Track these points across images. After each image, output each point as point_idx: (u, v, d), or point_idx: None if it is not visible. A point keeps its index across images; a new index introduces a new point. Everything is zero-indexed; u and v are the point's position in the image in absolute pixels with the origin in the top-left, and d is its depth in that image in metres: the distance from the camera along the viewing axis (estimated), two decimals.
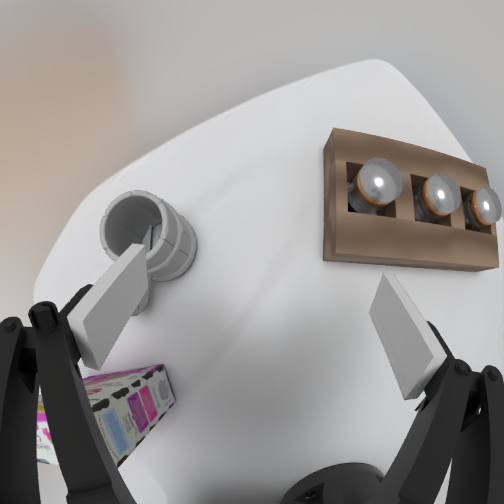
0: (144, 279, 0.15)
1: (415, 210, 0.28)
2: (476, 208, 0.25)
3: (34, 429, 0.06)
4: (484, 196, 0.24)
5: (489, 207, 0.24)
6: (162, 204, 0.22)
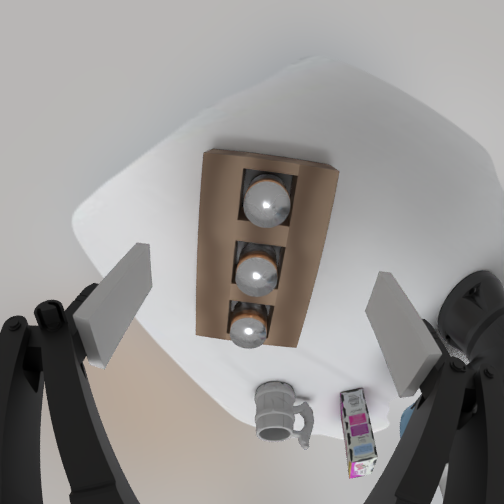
0: (148, 279, 0.15)
1: None
2: None
3: (38, 429, 0.06)
4: (257, 217, 0.27)
5: (272, 212, 0.27)
6: (265, 427, 0.40)
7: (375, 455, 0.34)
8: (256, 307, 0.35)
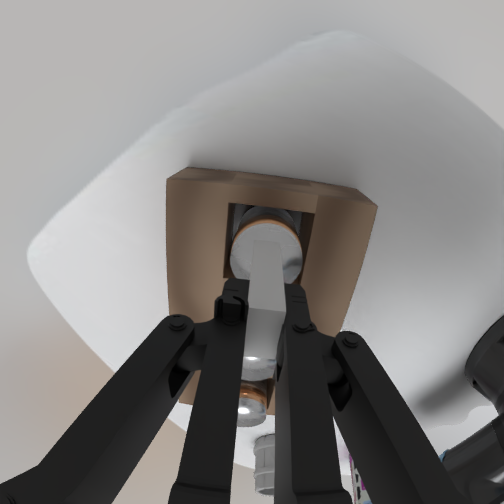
0: None
1: None
2: None
3: (155, 432, 0.08)
4: None
5: None
6: (265, 487, 0.30)
7: None
8: None
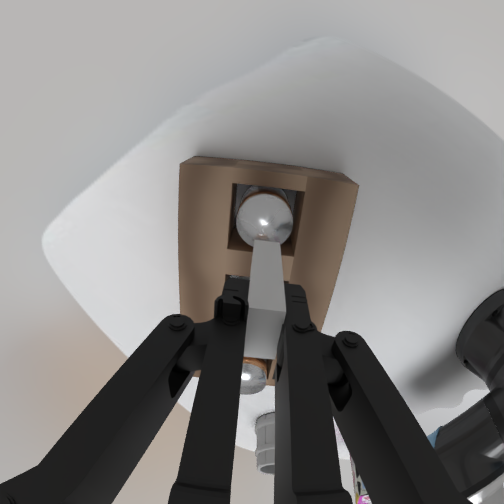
0: None
1: None
2: None
3: (155, 432, 0.08)
4: (254, 236, 0.23)
5: (270, 230, 0.22)
6: (266, 464, 0.34)
7: None
8: None
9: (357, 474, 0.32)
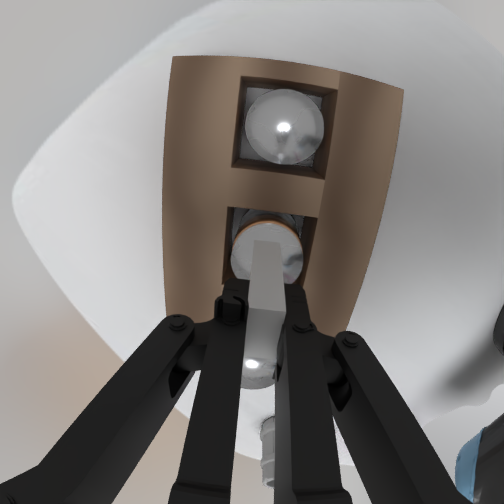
0: None
1: None
2: None
3: (155, 432, 0.08)
4: (270, 146, 0.15)
5: (293, 137, 0.15)
6: None
7: None
8: None
9: None
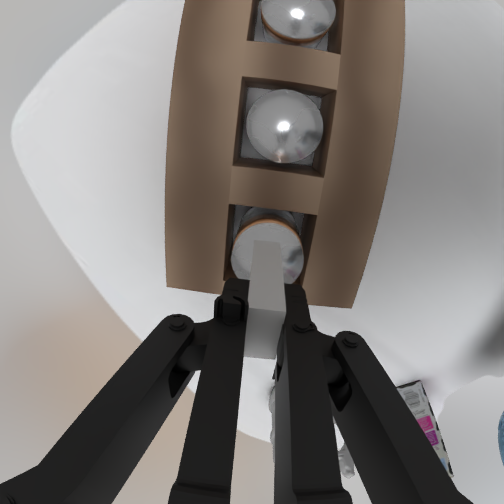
0: None
1: None
2: (305, 40, 0.13)
3: (155, 432, 0.08)
4: (285, 20, 0.12)
5: (307, 14, 0.12)
6: None
7: (450, 475, 0.17)
8: (281, 213, 0.19)
9: None
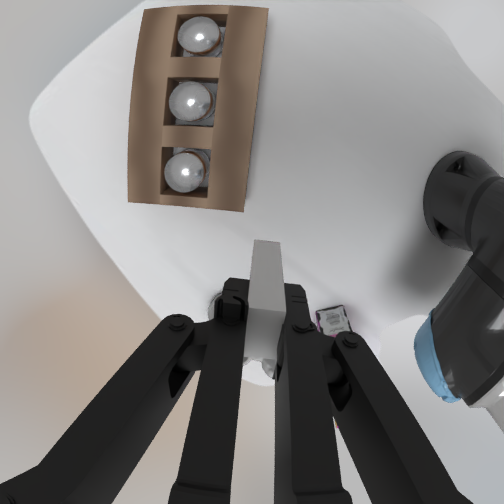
0: None
1: (204, 118, 0.31)
2: (203, 52, 0.24)
3: (155, 432, 0.08)
4: (189, 43, 0.23)
5: (202, 37, 0.23)
6: None
7: None
8: (195, 151, 0.32)
9: None
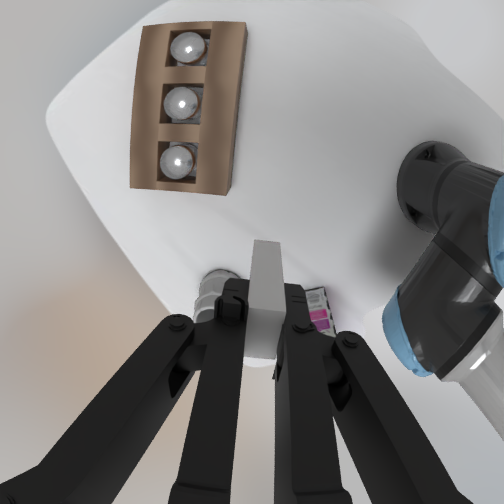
0: None
1: (194, 117, 0.36)
2: (191, 62, 0.30)
3: (155, 432, 0.08)
4: (180, 55, 0.29)
5: (190, 50, 0.28)
6: (201, 308, 0.39)
7: None
8: (187, 145, 0.37)
9: None
